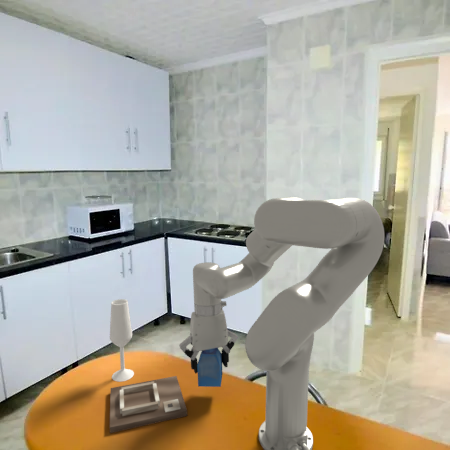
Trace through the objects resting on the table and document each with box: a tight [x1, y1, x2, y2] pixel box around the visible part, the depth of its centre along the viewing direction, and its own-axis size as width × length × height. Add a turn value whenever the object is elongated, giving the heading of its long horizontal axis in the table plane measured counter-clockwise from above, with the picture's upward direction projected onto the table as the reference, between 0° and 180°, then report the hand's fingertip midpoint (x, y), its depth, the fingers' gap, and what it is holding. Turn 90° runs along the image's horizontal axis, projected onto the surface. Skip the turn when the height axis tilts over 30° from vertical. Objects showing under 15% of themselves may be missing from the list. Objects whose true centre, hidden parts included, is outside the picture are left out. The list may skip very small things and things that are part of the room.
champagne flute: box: [109, 298, 135, 383], centre depth 102 cm, size 7×7×24 cm
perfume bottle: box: [197, 348, 223, 388], centre depth 93 cm, size 6×6×12 cm
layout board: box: [109, 375, 188, 434], centre depth 90 cm, size 16×19×3 cm
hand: (210, 367), depth 93 cm, fingers closed on perfume bottle, 8 cm apart
